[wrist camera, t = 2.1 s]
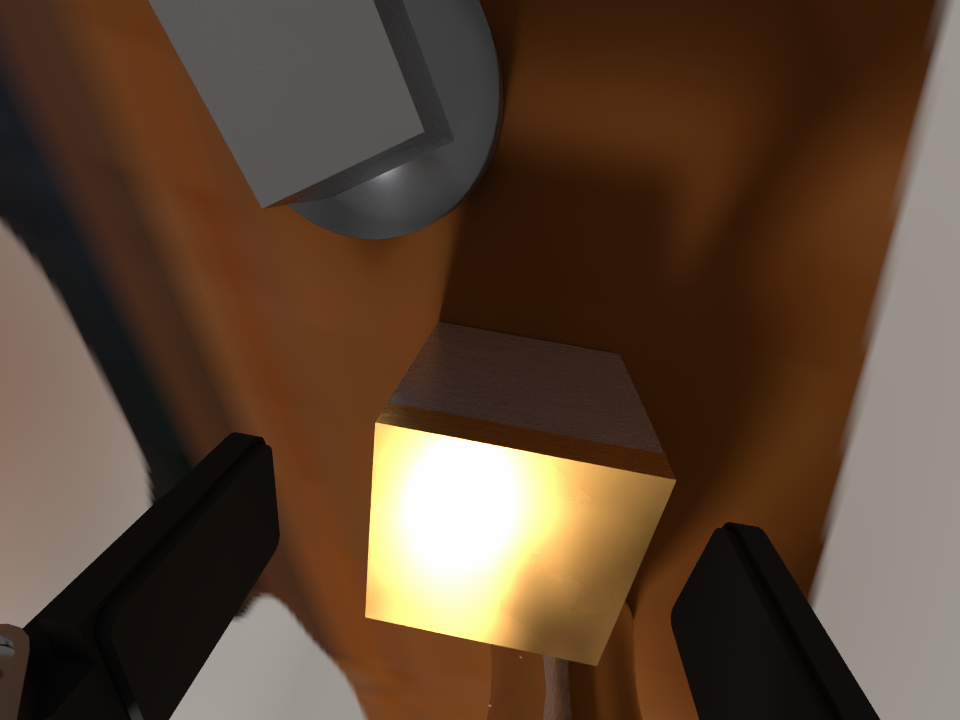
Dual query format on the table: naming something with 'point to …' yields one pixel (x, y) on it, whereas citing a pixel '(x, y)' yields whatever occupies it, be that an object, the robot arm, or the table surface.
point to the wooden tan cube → (512, 493)
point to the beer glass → (567, 682)
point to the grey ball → (348, 103)
